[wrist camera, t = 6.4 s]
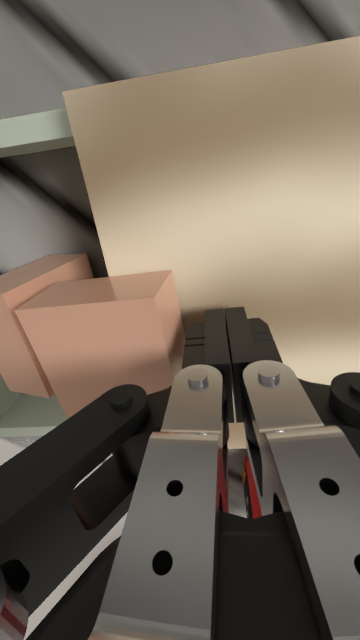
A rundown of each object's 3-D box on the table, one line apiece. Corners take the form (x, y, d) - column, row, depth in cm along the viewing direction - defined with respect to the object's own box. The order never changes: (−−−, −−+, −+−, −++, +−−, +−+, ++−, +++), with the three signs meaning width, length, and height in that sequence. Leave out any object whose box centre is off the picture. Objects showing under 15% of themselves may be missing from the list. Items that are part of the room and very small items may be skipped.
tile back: (86, 253, 14) (48, 255, 15) (2, 294, 10) (-43, 293, 11) (111, 338, 17) (76, 335, 18) (49, 398, 13) (9, 390, 14)
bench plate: (103, 112, 12) (61, 91, 9) (415, 58, 11) (520, 5, 7) (162, 398, 19) (152, 450, 16) (350, 390, 18) (385, 445, 14)
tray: (-116, 156, 14) (-193, 154, 11) (104, 118, 12) (76, 105, 10) (14, 402, 21) (-13, 437, 18) (161, 396, 19) (155, 432, 17)
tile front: (55, 282, 12) (14, 310, 10) (172, 269, 11) (154, 297, 8) (92, 378, 14) (66, 417, 12) (192, 375, 13) (183, 419, 11)
